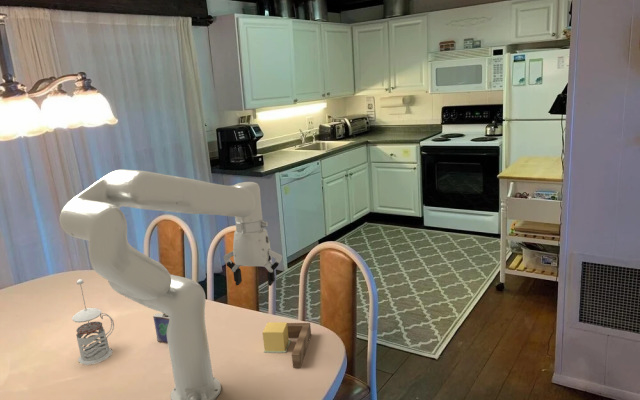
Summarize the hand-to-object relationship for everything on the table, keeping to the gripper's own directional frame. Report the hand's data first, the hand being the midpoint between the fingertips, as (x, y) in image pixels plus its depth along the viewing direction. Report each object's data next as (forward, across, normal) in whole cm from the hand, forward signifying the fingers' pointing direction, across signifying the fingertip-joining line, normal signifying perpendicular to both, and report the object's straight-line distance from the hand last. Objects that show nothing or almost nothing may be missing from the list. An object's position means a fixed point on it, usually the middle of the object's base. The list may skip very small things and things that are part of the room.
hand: (254, 283), depth 140 cm
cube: (+20, -4, -2) cm, 21 cm away
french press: (+22, +50, +6) cm, 55 cm away
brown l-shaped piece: (+20, -8, 0) cm, 22 cm away
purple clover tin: (+21, +31, -3) cm, 38 cm away
